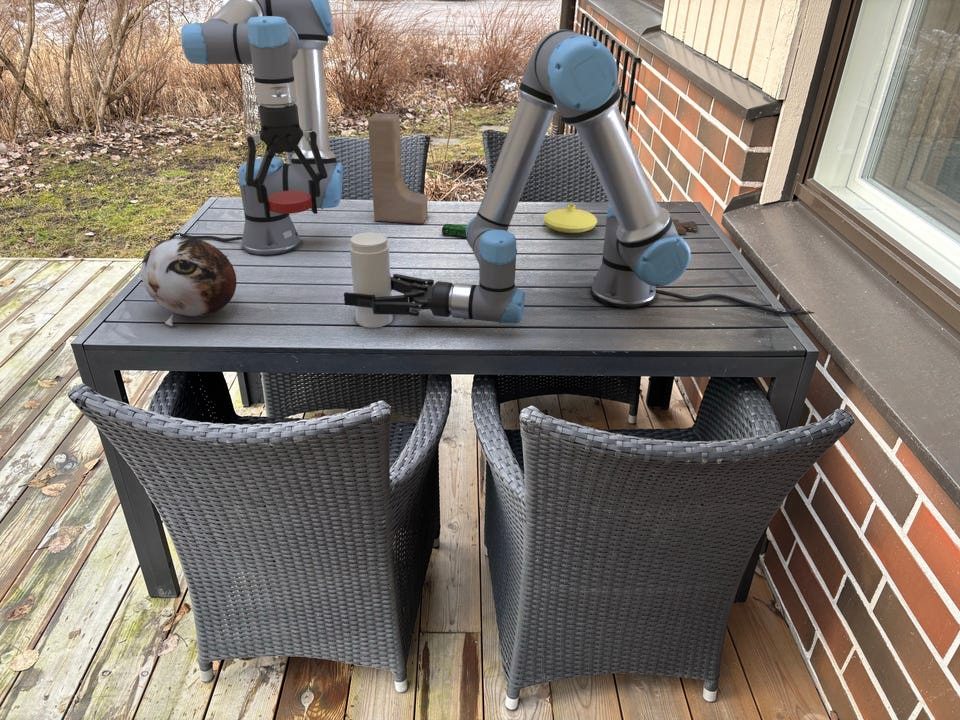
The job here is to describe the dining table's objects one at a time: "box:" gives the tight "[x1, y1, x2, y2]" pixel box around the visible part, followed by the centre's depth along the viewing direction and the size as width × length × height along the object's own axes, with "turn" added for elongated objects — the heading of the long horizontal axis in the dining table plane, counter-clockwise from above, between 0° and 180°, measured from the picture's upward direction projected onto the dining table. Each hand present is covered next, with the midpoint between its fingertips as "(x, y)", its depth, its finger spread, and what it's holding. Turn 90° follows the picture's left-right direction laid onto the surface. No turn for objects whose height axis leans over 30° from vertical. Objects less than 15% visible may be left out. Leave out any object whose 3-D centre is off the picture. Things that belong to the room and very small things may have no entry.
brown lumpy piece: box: [672, 218, 698, 235], centre depth 212 cm, size 26×2×10 cm
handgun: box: [441, 223, 467, 238], centre depth 207 cm, size 16×3×15 cm
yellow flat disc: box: [543, 203, 598, 234], centre depth 209 cm, size 16×16×7 cm
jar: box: [349, 231, 394, 329], centre depth 155 cm, size 8×8×19 cm
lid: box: [268, 191, 313, 215], centre depth 150 cm, size 9×9×2 cm
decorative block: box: [367, 112, 429, 225], centre depth 209 cm, size 8×15×30 cm, turn 82°
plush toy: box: [140, 236, 238, 327], centre depth 157 cm, size 22×18×20 cm
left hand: (291, 214), depth 152 cm, fingers closed on lid, 9 cm apart
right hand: (352, 289), depth 158 cm, fingers closed on jar, 8 cm apart
